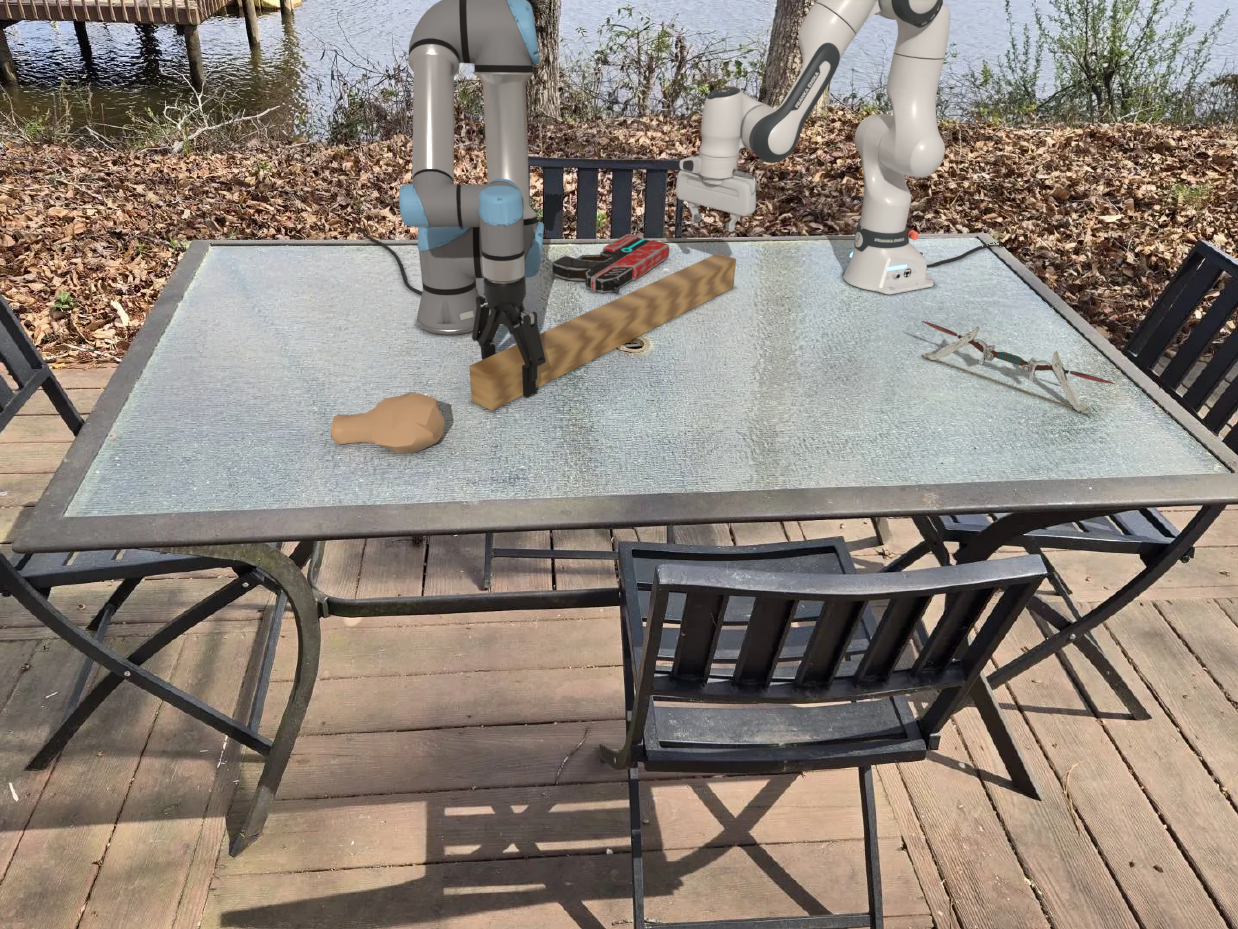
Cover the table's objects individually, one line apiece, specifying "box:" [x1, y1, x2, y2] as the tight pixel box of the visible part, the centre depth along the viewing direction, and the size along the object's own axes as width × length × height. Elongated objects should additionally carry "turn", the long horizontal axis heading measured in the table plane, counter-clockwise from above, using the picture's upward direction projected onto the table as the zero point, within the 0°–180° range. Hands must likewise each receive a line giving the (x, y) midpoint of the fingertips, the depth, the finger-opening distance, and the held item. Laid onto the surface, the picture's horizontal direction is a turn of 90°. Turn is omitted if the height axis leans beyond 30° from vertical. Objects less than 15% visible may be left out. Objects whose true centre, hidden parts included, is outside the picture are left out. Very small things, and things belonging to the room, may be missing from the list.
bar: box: [468, 253, 737, 412], centre depth 190 cm, size 82×6×8 cm, turn 140°
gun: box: [551, 233, 671, 294], centre depth 224 cm, size 4×31×19 cm
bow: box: [921, 320, 1114, 414], centre depth 176 cm, size 39×2×10 cm, turn 47°
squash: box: [330, 392, 446, 455], centre depth 152 cm, size 11×20×9 cm, turn 90°
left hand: (509, 385), depth 170 cm, fingers open, 10 cm apart
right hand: (712, 226), depth 205 cm, fingers open, 8 cm apart
